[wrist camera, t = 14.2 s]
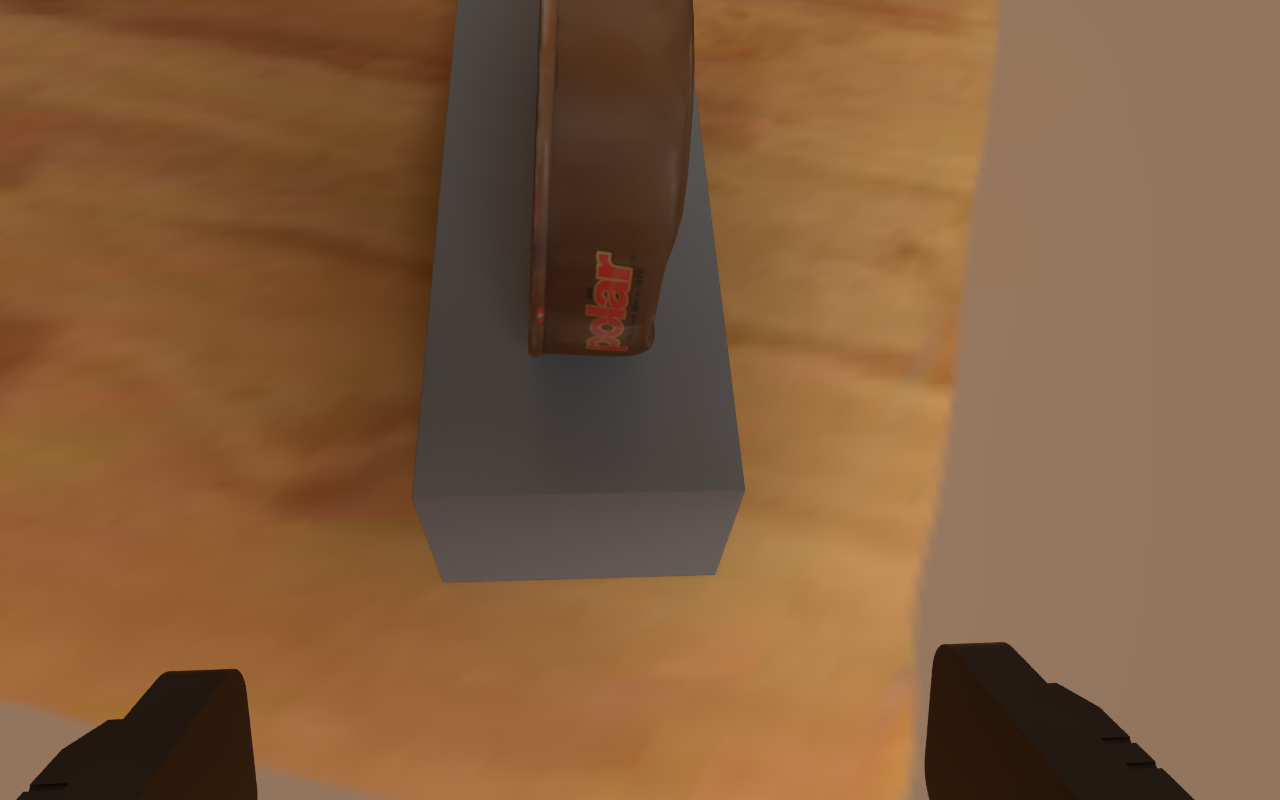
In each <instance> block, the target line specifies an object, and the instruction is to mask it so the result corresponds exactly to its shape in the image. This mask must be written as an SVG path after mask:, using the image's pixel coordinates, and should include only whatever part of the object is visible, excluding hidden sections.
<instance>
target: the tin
mask: <svg viewBox="0 0 1280 800" xmlns="http://www.w3.org/2000/svg"><path fill="white" fill-rule="evenodd" d="M693 98H694V14H693V0H540V10H539V34H538V80H537V95H536V124H535V151H534V182H533V205H532V226H531V251H530V287H529V326H528V354H529V356H530V357H531V358H539V357H540V356H542V355H543V354H557V355H583V356H608V357H616V356H633V355H638V354H641V353H644V352H646V351H647V350H649V349H650V348H651V346H652V345H653V342H654V339H655V328H654V319H655V315H656V311H657V306H658V301H659V295H660V290H661V285H662V281H663V277H664V273H665V268H666V265H667V262H668V259H669V256H670V254H671V251H672V249H673V247H674V244H675V240H676V237H677V234H678V230H679V226H680V223H681V219H682V215H683V209H684V202H685V194H686V187H687V179H688V168H689V156H690V143H691V130H692V117H693Z"/></svg>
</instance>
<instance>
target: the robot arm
mask: <svg viewBox="0 0 1280 800" xmlns="http://www.w3.org/2000/svg"><path fill="white" fill-rule="evenodd" d="M925 779H926V786H927V791H928V796H929V799H930V800H1194V799H1193V798H1192V797H1191V796H1190V795H1189V794H1188V793H1187V792H1186V791H1185V790H1184V789H1183V788H1182V787H1181V786H1180V785H1179V784H1178V783H1177V782H1176V781H1175V780H1174V779H1173V778H1172V777H1171V776H1170V775H1168V774H1167V773H1166V772H1165V771H1164V770H1163V769H1162V768H1159V769H1157V767H1156V765H1155V761H1154V760H1153V759H1152V758H1151V757H1150V756H1149V755H1148V754H1147V753H1146V752H1145V751H1144V750H1143V749H1142V748H1141V747H1140V746H1139V745H1138V744H1137V743H1131V741H1130V737H1129V736H1128V735H1127V734H1126V733H1125V732H1124V731H1123V730H1122V729H1121V728H1120V727H1119V726H1118V725H1117V724H1116V723H1115V722H1114V721H1113V720H1112V719H1111V718H1110V717H1109V716H1108V715H1107V714H1106V713H1105V712H1104V711H1103V710H1102V709H1100V707H1098V706H1096V705H1094V704H1093V703H1091V702H1089V701H1088V700H1086V699H1084V698H1082V697H1080V696H1079V695H1077V694H1075V693H1073V692H1072V691H1070V690H1068V689H1066V688H1064V687H1063V686H1061V685H1059V684H1057V683H1047V682H1046V681H1045V680H1044V679H1043V678H1042V677H1041V676H1040V675H1039V674H1038V673H1037V672H1036V671H1035V670H1034V669H1033V668H1032V667H1031V666H1030V665H1029V664H1028V663H1027V662H1026V661H1025V660H1024V659H1023V658H1022V657H1021V656H1020V655H1019V654H1018V653H1017V652H1016V651H1015V650H1014V648H1012V647H1011V646H1010V645H1009V644H1007V643H1004V642H995V643H994V642H993V643H966V644H943V645H941V646H940V647H939V648H938V649H937V651H936V653H935V656H934V660H933V667H932V678H931V690H930V702H929V714H928V726H927V738H926V750H925ZM17 800H257V783H256V775H255V765H254V755H253V746H252V737H251V728H250V719H249V710H248V700H247V692H246V685H245V681H244V678H243V676H242V674H241V673H240V671H238V670H237V669H220V670H193V671H168V672H165V673H163V674H162V675H161V676H160V677H159V678H158V679H157V680H156V681H155V682H154V683H153V685H152V686H151V687H150V688H149V689H148V690H147V692H146V693H145V694H144V695H143V696H142V698H141V699H140V700H139V701H138V702H137V703H136V705H135V706H134V707H133V708H132V709H131V711H130V712H129V713H128V714H127V715H126V716H125V718H124V719H116V720H107V721H106V722H104V723H103V724H101V725H100V726H98V727H96V728H95V729H93V730H92V731H90V732H89V733H87V734H86V735H84V736H82V737H81V738H79V739H78V740H76V741H75V742H73V743H72V744H70V745H68V746H67V747H65V748H64V749H62V750H61V751H60V752H59V753H58V754H57V756H56V757H55V758H54V759H53V760H52V761H51V762H50V763H49V764H48V765H47V767H46V768H45V769H44V770H43V771H42V772H41V773H40V774H39V775H38V777H37V778H36V779H35V780H34V781H33V782H32V783H31V784H30V789H29V792H23V793H22V794H21V795H20V796H19V797H18V798H17Z"/></svg>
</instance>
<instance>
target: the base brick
mask: <svg viewBox="0 0 1280 800" xmlns="http://www.w3.org/2000/svg"><path fill="white" fill-rule="evenodd" d="M539 10H540V0H457V11H456V22H455V33H454V44H453V55H452V66H451V77H450V87H449V98H448V109H447V120H446V131H445V142H444V153H443V164H442V175H441V186H440V197H439V208H438V219H437V230H436V240H435V251H434V262H433V273H432V284H431V295H430V306H429V317H428V328H427V339H426V350H425V361H424V372H423V383H422V394H421V404H420V415H419V426H418V437H417V448H416V459H415V470H414V481H413V492H412V499H413V501H414V504H415V507H416V509H417V512H418V515H419V518H420V520H421V523H422V526H423V529H424V531H425V534H426V537H427V540H428V542H429V545H430V548H431V550H432V553H433V556H434V559H435V561H436V564H437V567H438V570H439V572H440V575H441V578H442V581H443V582H473V581H509V580H545V579H581V578H617V577H653V576H689V575H715V573H716V571H717V568H718V565H719V562H720V559H721V557H722V554H723V551H724V548H725V545H726V543H727V540H728V537H729V534H730V531H731V529H732V526H733V523H734V520H735V517H736V514H737V512H738V509H739V506H740V503H741V500H742V498H743V495H744V492H745V485H744V477H743V469H742V461H741V453H740V445H739V437H738V429H737V421H736V413H735V405H734V397H733V389H732V381H731V373H730V365H729V357H728V349H727V340H726V332H725V324H724V316H723V308H722V300H721V292H720V284H719V276H718V268H717V260H716V252H715V244H714V236H713V228H712V220H711V212H710V204H709V196H708V188H707V179H706V171H705V163H704V155H703V147H702V139H701V131H700V123H699V115H698V107H697V99H696V91H695V83H694V98H693V117H692V130H691V143H690V156H689V168H688V179H687V187H686V194H685V202H684V209H683V215H682V219H681V223H680V226H679V230H678V234H677V237H676V240H675V244H674V247H673V249H672V251H671V254H670V256H669V259H668V262H667V265H666V268H665V273H664V277H663V281H662V285H661V290H660V295H659V301H658V306H657V311H656V315H655V319H654V328H655V339H654V342H653V345H652V346H651V348H650V349H649V350H647V351H646V352H644V353H641V354H638V355H633V356H616V357H608V356H583V355H557V354H543V355H542V356H540V357H539V358H531V357H530V356H529V354H528V326H529V287H530V251H531V226H532V205H533V182H534V151H535V124H536V95H537V80H538V34H539Z"/></svg>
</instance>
